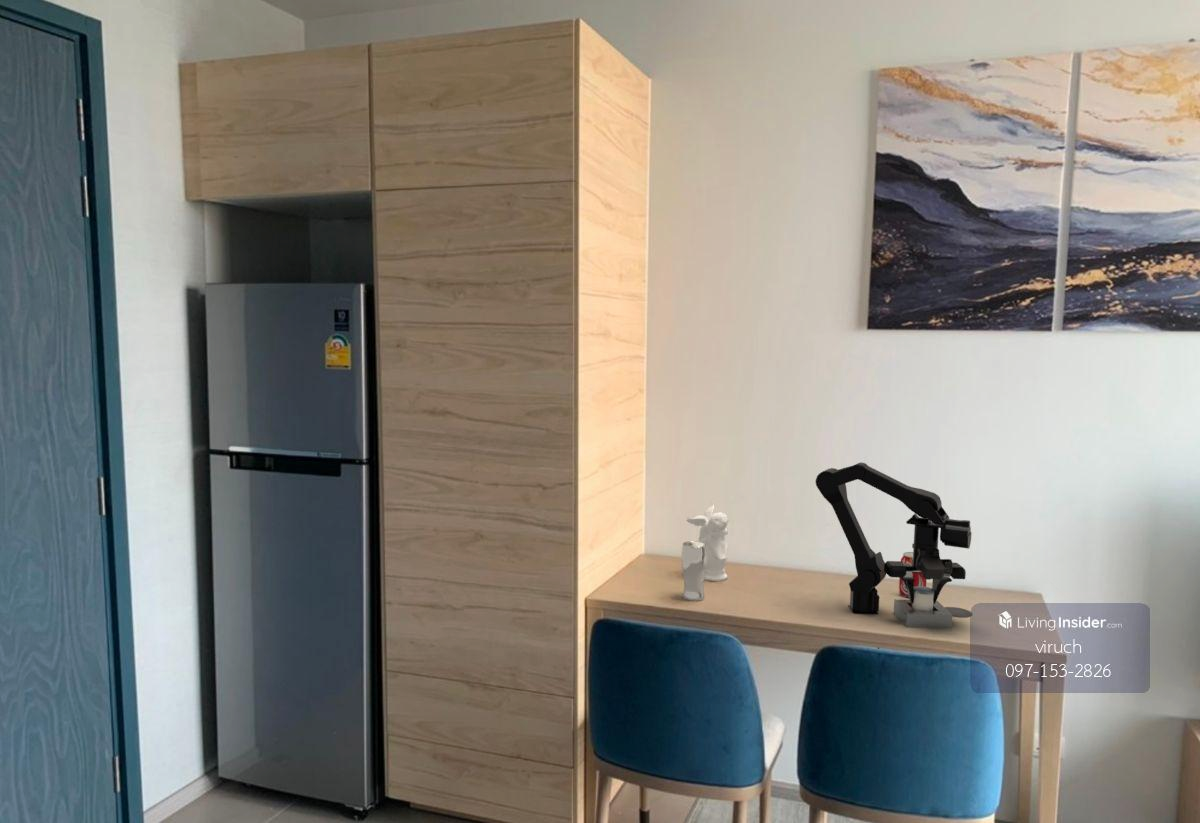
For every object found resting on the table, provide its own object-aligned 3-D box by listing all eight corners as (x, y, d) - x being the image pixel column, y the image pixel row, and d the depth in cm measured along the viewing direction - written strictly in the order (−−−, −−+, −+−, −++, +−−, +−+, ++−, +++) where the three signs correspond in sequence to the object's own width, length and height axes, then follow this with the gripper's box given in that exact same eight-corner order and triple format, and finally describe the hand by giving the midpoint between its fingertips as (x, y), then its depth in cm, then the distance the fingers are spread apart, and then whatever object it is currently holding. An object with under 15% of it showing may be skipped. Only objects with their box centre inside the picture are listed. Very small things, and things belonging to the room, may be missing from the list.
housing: (906, 629, 216) (907, 613, 215) (893, 614, 227) (894, 599, 226) (951, 630, 215) (952, 614, 215) (936, 615, 226) (937, 600, 226)
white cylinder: (914, 623, 219) (916, 592, 218) (908, 616, 224) (910, 585, 223) (935, 623, 218) (936, 592, 218) (928, 617, 223) (930, 586, 223)
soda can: (927, 601, 238) (929, 558, 236) (900, 599, 239) (902, 557, 238) (923, 593, 244) (925, 552, 243) (897, 592, 246) (899, 550, 245)
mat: (945, 618, 224) (945, 616, 224) (935, 608, 232) (935, 606, 232) (977, 619, 223) (977, 617, 223) (965, 609, 231) (965, 607, 231)
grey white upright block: (709, 595, 240) (710, 542, 239) (701, 603, 234) (702, 548, 232) (685, 592, 243) (686, 539, 242) (677, 599, 237) (678, 545, 235)
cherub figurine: (729, 583, 252) (731, 509, 250) (686, 582, 253) (688, 508, 250) (724, 571, 264) (726, 500, 262) (683, 570, 265) (685, 499, 262)
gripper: (897, 550, 211) (894, 612, 213) (975, 552, 211) (972, 614, 212) (884, 538, 222) (882, 598, 224) (959, 540, 222) (955, 600, 223)
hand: (922, 602), depth 221 cm, fingers closed on white cylinder, 5 cm apart
